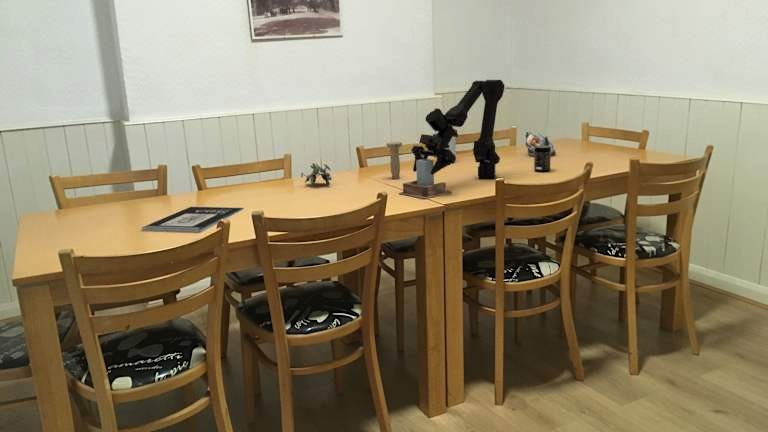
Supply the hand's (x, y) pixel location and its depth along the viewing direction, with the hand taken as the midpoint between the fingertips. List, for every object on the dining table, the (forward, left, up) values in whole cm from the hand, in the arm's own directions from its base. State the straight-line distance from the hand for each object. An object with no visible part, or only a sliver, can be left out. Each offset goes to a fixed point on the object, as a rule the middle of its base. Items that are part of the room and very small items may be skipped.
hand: (422, 172), depth 236 cm
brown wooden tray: (-1, -1, -8) cm, 8 cm away
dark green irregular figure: (+47, -11, -8) cm, 49 cm away
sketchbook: (+69, +45, -9) cm, 83 cm away
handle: (+18, -27, -8) cm, 34 cm away
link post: (-1, -1, -8) cm, 8 cm away
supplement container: (-41, -46, -8) cm, 62 cm away
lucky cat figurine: (-38, -85, -8) cm, 93 cm away
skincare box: (+4, -65, -8) cm, 66 cm away
